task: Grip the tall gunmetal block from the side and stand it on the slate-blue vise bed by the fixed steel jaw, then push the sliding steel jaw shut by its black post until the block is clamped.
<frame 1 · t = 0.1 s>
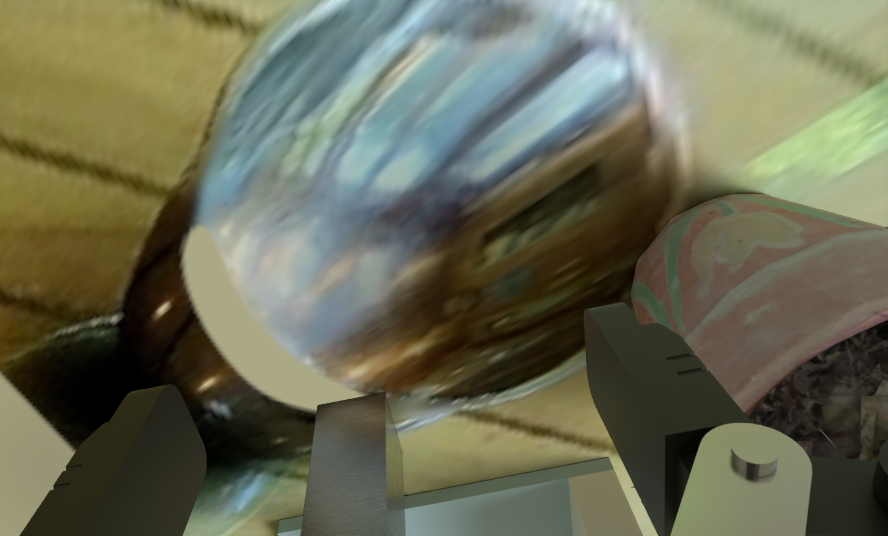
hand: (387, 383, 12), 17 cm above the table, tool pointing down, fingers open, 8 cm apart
potted plant: (728, 259, 32), on the table
vise: (454, 531, 41), on the table
steel block: (361, 429, 35), on the table
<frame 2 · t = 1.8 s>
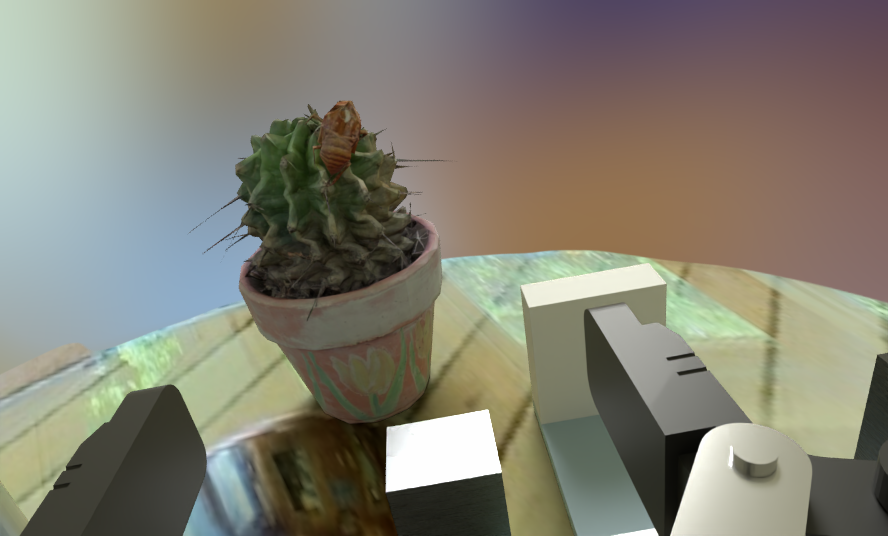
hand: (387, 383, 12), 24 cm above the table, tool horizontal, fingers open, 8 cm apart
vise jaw: (767, 493, 28), point 7 cm above the table, slide at 8.0 cm
potted plant: (366, 383, 52), on the table
vise: (644, 514, 36), on the table
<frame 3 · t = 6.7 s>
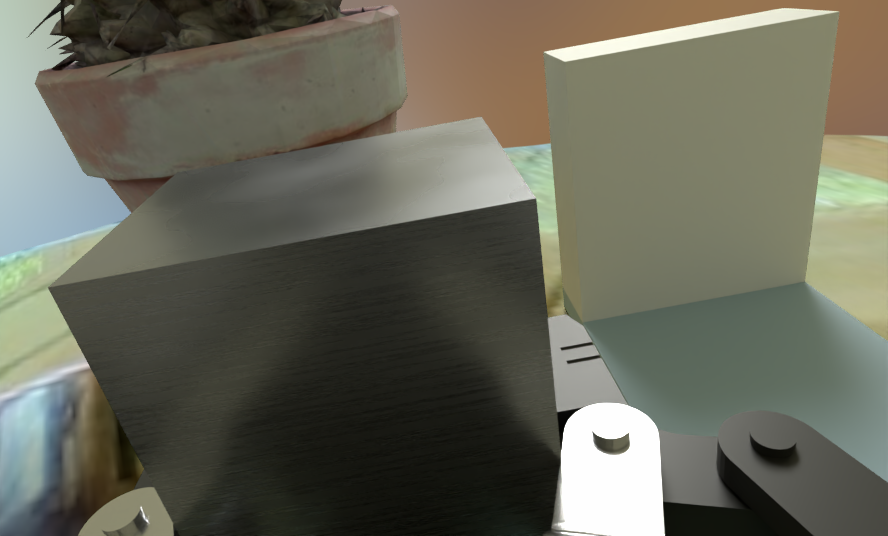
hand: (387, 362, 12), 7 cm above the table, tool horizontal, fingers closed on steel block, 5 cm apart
potted plant: (294, 291, 33), on the table
vise: (823, 469, 17), on the table
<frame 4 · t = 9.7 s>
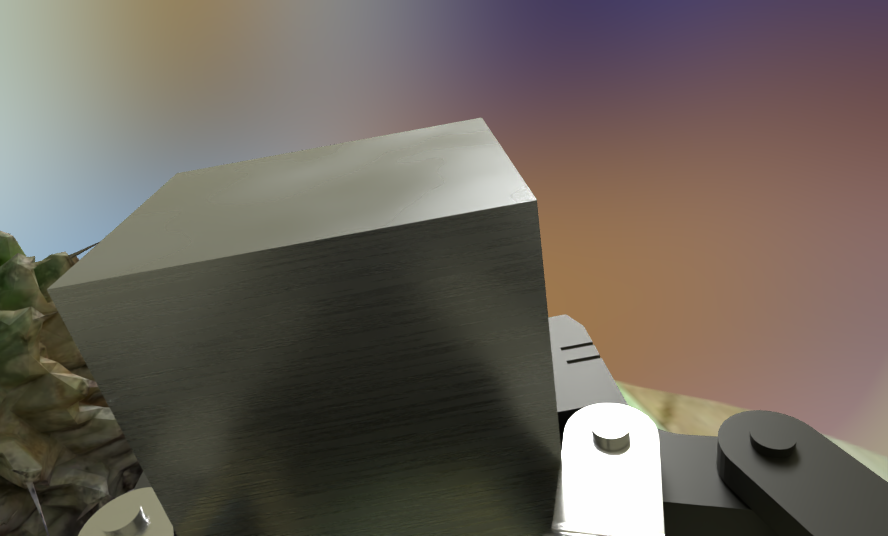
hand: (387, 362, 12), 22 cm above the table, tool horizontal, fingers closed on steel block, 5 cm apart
when the fingers open (9 cm above the table, at t = 12.9 s): steel block drops 1 cm, resting on vise.
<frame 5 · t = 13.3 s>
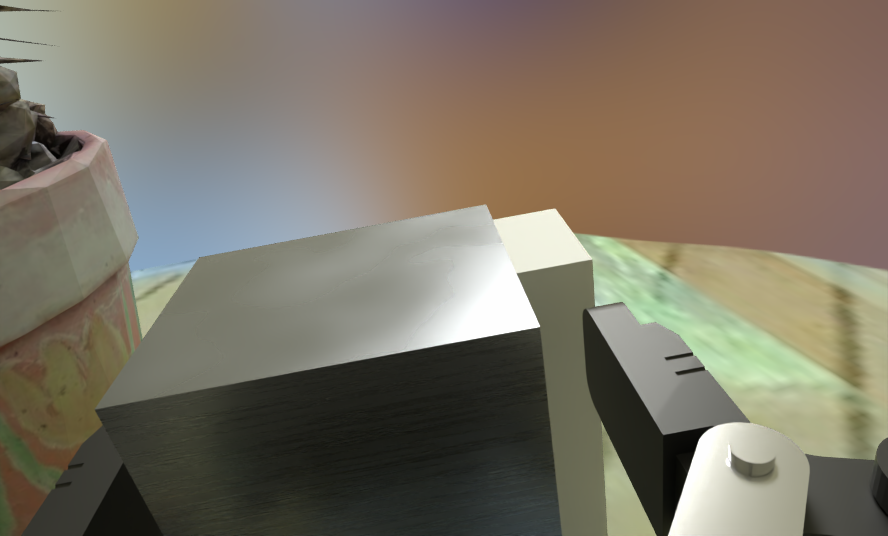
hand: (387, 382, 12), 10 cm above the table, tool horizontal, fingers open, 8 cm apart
potted plant: (32, 482, 26), on the table
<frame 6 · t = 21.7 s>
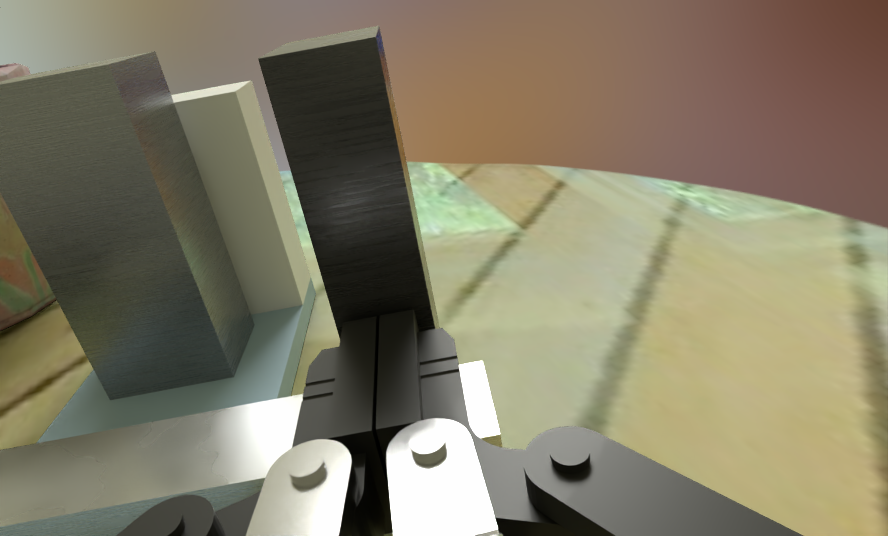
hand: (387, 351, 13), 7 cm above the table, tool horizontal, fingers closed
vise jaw: (127, 354, 14), point 7 cm above the table, slide at 7.2 cm, touching gripper
vise: (157, 460, 21), on the table
steel block: (187, 359, 25), point 1 cm above the table, touching vise
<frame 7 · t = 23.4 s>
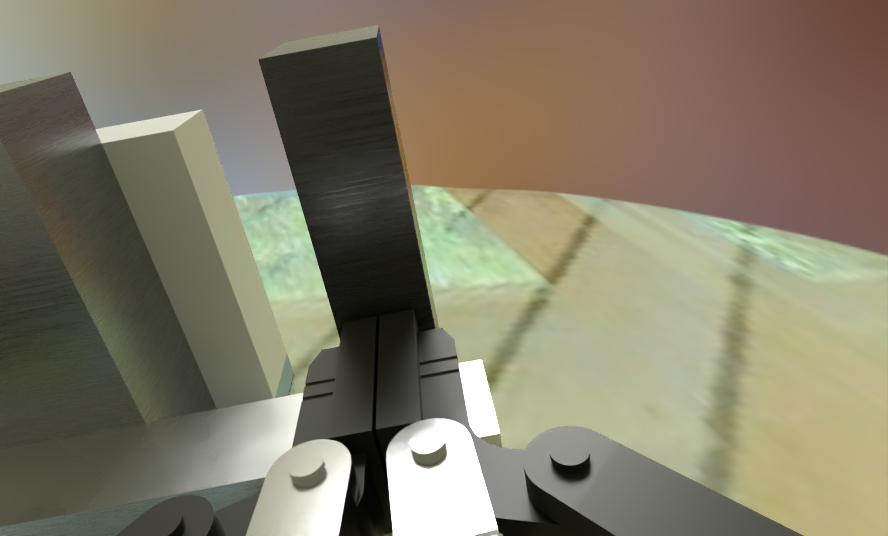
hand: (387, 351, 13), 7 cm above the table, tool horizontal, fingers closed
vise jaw: (126, 354, 14), point 7 cm above the table, slide at 0.0 cm, touching gripper, steel block
steel block: (128, 464, 20), point 1 cm above the table, touching vise, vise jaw
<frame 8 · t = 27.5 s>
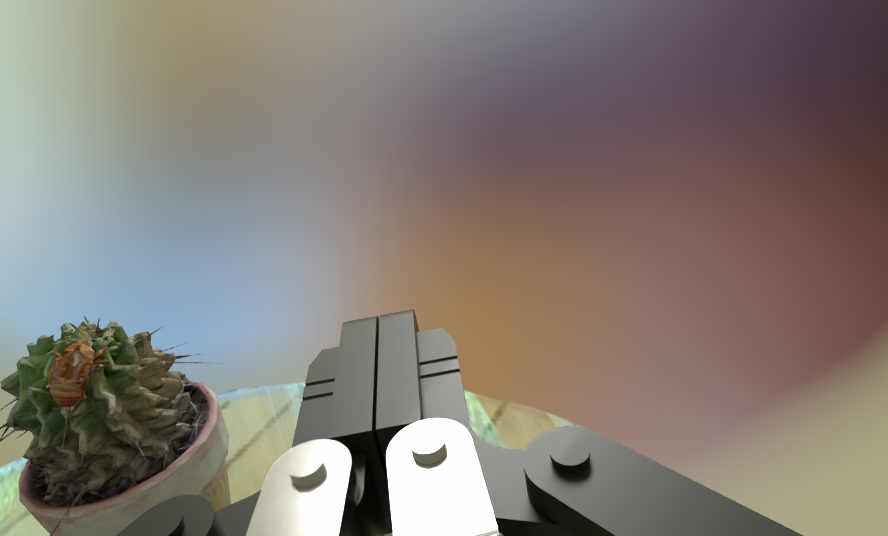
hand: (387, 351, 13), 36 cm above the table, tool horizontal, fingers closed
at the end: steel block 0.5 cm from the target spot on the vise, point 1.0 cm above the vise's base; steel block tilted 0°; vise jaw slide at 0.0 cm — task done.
